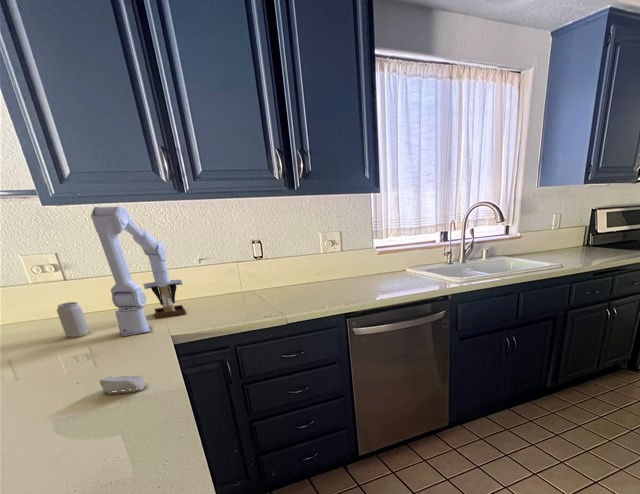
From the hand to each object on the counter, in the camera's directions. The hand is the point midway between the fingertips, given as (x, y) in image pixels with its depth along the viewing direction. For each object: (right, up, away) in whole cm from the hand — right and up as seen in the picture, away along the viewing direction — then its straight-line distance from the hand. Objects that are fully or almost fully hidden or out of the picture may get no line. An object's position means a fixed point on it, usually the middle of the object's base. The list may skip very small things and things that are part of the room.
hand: (167, 303), depth 182 cm
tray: (0, -4, +2) cm, 4 cm away
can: (-23, -16, -22) cm, 35 cm away
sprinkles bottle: (0, -4, +2) cm, 4 cm away
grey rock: (+22, -36, -67) cm, 79 cm away
